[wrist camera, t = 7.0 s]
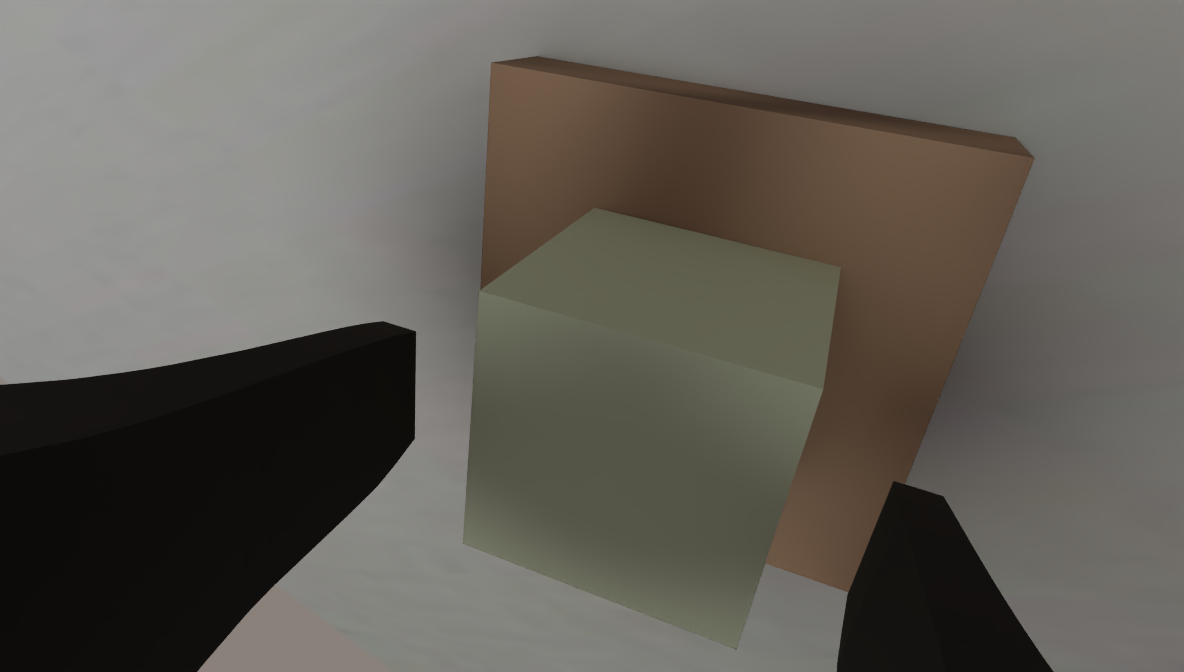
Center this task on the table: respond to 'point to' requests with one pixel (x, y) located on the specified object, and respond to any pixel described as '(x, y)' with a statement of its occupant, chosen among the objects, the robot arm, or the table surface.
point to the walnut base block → (778, 244)
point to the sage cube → (645, 413)
